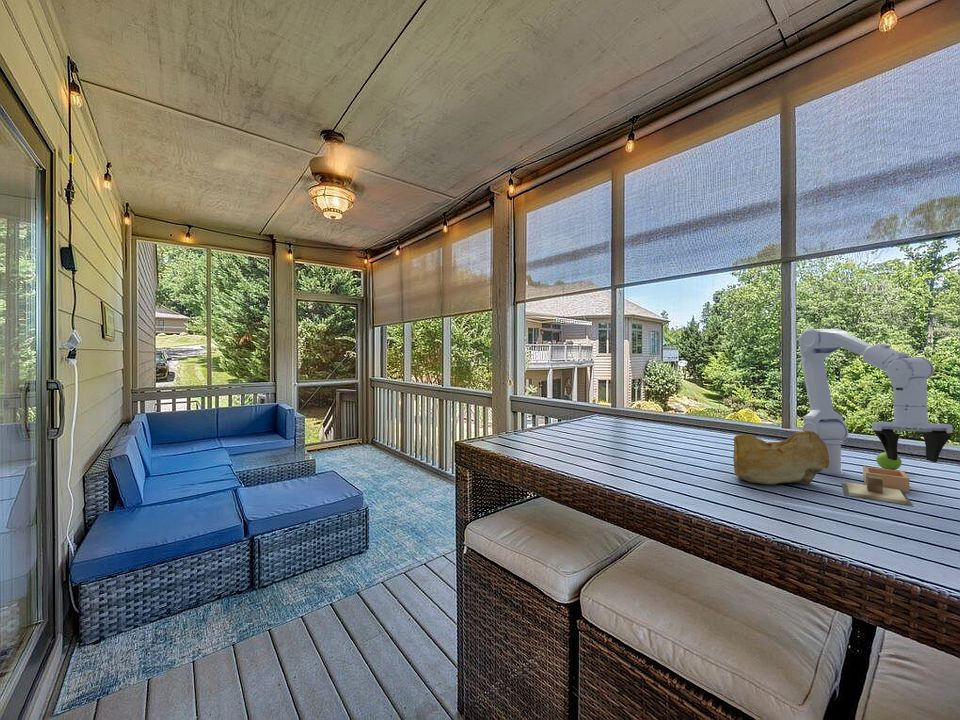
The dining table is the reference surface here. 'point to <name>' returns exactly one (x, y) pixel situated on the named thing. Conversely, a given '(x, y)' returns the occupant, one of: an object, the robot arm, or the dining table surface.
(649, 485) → the dining table surface
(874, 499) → the mat
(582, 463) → the dining table surface
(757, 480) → the rough brown rock
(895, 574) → the dining table surface
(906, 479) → the tan square open box
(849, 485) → the lid
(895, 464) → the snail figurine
